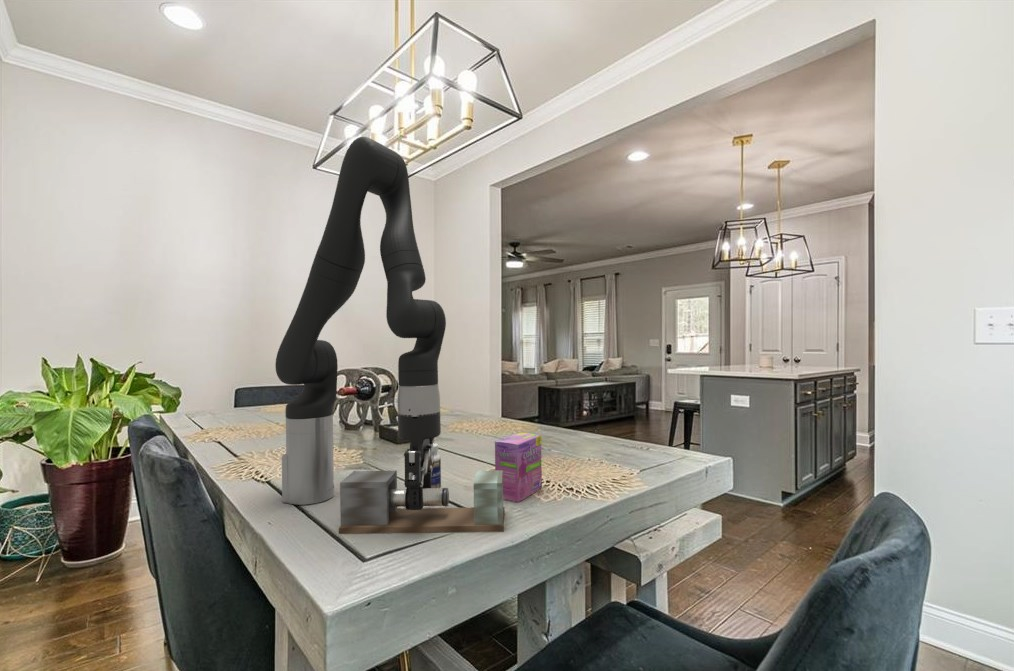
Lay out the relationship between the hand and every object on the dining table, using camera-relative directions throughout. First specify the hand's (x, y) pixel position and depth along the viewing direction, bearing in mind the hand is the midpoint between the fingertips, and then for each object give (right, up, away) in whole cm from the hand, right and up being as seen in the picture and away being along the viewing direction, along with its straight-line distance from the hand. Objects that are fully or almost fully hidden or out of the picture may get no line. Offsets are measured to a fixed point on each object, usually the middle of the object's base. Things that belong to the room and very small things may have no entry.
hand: (421, 501), depth 84 cm
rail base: (+1, -4, 0) cm, 4 cm away
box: (+18, -4, +15) cm, 24 cm away
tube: (-4, -2, 0) cm, 4 cm away
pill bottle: (-2, -4, +18) cm, 19 cm away
